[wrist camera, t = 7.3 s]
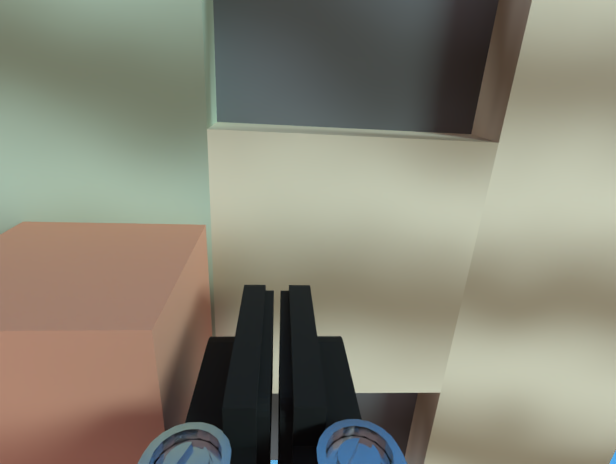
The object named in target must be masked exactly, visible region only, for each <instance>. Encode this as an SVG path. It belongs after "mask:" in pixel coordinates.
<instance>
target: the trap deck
mask: <svg viewBox="0 0 616 464" xmlns="http://www.w3.org/2000/svg"><path fill="white" fill-rule="evenodd" d="M22 222H79V223H137V224H195V225H206V237H207V254H208V271H209V288H210V304H211V321H212V337H224V336H235V333H236V327H237V322H238V316H239V311H240V305H241V299H242V294H243V288H244V285H266V290H274V321H273V386H272V422H271V458H270V460H278V391H279V339H280V293H281V291H289V285H310V288H311V295H312V302H313V309H314V316H315V324H316V331H317V336H341V337H342V339H343V342H344V346H345V351H346V355H347V359H348V363H349V368H350V372H351V376H352V380H353V384H354V389H355V393H356V397H357V401H358V406H359V410H360V414H361V418H362V420H364V421H368V422H372V423H374V424H376V425H377V426H379V427H381V428H383V429H384V430H385V431H386V432H387V433H389V434H390V435H391V436H392V437H393V439H394V440H395V442H396V443H397V444H398V446H399V448H400V450H401V452H402V454H403V456H404V457H405V460H406V462H407V464H609V463H610V461H611V459H612V457H613V455H614V452H615V450H616V0H0V234H2V233H4V232H6V231H7V230H9V229H11V228H13V227H14V226H16V225H18V224H20V223H22Z"/></svg>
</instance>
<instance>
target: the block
mask: <svg viewBox="0 0 616 464" xmlns="http://www.w3.org/2000/svg"><path fill="white" fill-rule="evenodd" d="M210 337H212V321H211V304H210V288H209V271H208V254H207V237H206V225H195V224H137V223H79V222H22V223H20V224H18V225H16V226H14V227H13V228H11V229H9V230H7V231H6V232H4V233H2V234H0V464H138V462H139V460H140V458H141V456H142V454H143V453H144V451H145V450H146V449H147V447H148V446H149V444H150V443H151V442H152V441H153V440H154V439H155V438H157V437H158V436H159V435H160V434H161V433H163V432H165V431H166V430H168V429H170V428H172V427H174V426H177V425H180V424H184V423H185V421H186V417H187V414H188V410H189V407H190V403H191V399H192V396H193V392H194V389H195V385H196V381H197V378H198V374H199V371H200V367H201V364H202V360H203V356H204V353H205V349H206V346H207V342H208V339H209V338H210Z"/></svg>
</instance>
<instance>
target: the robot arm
mask: <svg viewBox="0 0 616 464" xmlns="http://www.w3.org/2000/svg"><path fill="white" fill-rule="evenodd" d="M273 321H274V290H266V285H244V288H243V294H242V299H241V305H240V311H239V316H238V322H237V327H236V333H235V336H224V337H210V338H209V339H208V342H207V346H206V349H205V353H204V356H203V360H202V364H201V367H200V371H199V374H198V378H197V381H196V385H195V389H194V392H193V396H192V399H191V403H190V407H189V410H188V414H187V417H186V421H185V423H184V424H180V425H177V426H174V427H172V428H170V429H168V430H166V431H165V432H163V433H161V434H160V435H159V436H158V437H157V438H155V439H154V440H153V441H152V442H151V443H150V444H149V446H148V447H147V449H146V450H145V451H144V453H143V454H142V456H141V458H140V460H139V462H138V464H270V458H271V422H272V386H273ZM278 464H407V462H406V460H405V458H404V456H403V454H402V452H401V450H400V448H399V446H398V444H397V443H396V442H395V440H394V439H393V437H392V436H391V435H390V434H389V433H387V432H386V431H385V430H384V429H383V428H381V427H379V426H377V425H376V424H374V423H372V422H368V421H364V420H362V418H361V414H360V410H359V406H358V401H357V397H356V393H355V389H354V384H353V380H352V376H351V372H350V368H349V363H348V359H347V355H346V351H345V346H344V342H343V339H342V337H341V336H317V331H316V324H315V316H314V309H313V302H312V295H311V288H310V285H289V291H281V293H280V339H279V391H278Z"/></svg>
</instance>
